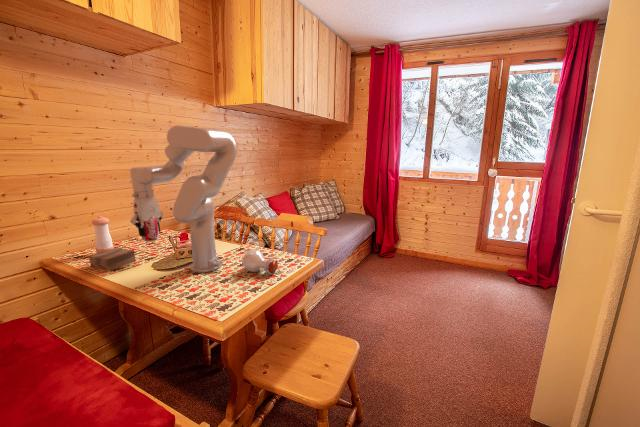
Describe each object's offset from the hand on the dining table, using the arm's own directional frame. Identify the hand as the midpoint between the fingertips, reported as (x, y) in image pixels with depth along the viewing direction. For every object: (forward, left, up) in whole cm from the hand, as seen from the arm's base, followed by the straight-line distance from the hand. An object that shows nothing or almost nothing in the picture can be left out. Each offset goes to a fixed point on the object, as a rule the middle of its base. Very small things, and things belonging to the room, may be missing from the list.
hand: (150, 233), depth 136 cm
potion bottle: (-53, -6, -13) cm, 55 cm away
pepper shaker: (+31, +1, -13) cm, 34 cm away
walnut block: (+14, +9, -13) cm, 21 cm away
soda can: (0, 0, -3) cm, 3 cm away
